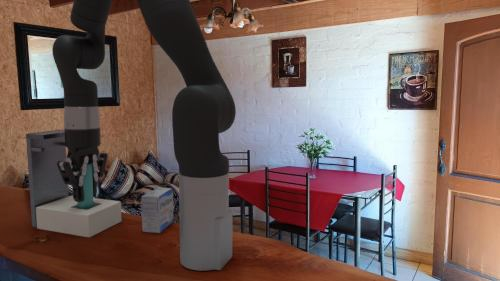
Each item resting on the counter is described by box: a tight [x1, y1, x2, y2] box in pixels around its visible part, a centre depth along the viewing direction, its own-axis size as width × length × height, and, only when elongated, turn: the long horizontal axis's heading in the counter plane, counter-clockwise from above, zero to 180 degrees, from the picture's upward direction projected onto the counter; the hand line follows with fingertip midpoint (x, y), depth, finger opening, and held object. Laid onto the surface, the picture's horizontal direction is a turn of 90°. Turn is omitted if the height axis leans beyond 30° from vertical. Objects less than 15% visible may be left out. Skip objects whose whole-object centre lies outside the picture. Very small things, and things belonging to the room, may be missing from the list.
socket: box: [36, 194, 122, 238], centre depth 90 cm, size 15×11×5 cm
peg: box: [76, 164, 94, 210], centre depth 88 cm, size 4×4×12 cm
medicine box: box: [141, 187, 174, 234], centre depth 89 cm, size 8×4×9 cm, turn 168°
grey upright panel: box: [25, 129, 69, 228], centre depth 91 cm, size 5×10×22 cm, turn 161°
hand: (85, 198), depth 88 cm, fingers closed on peg, 3 cm apart
